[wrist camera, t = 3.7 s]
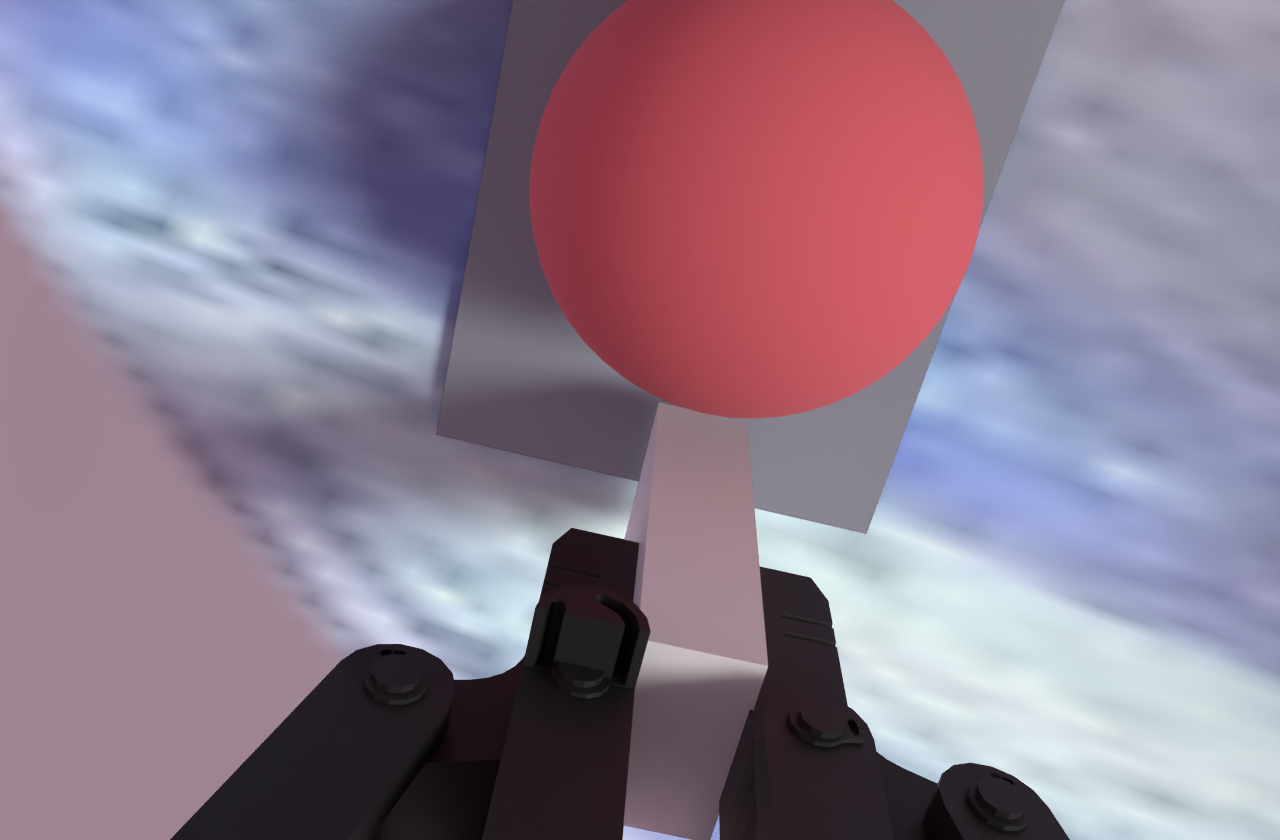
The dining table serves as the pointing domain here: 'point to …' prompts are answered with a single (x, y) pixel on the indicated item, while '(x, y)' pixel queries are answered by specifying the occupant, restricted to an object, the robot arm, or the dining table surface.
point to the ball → (756, 197)
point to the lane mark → (598, 395)
